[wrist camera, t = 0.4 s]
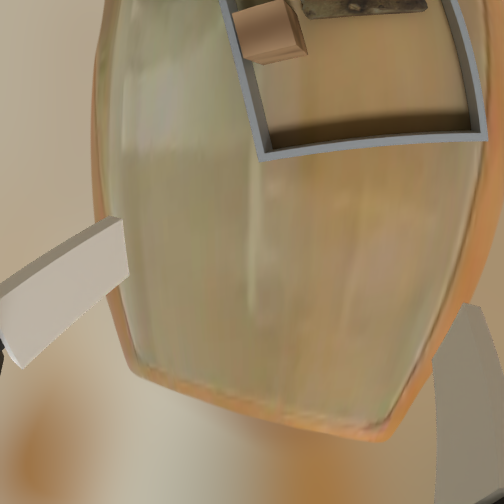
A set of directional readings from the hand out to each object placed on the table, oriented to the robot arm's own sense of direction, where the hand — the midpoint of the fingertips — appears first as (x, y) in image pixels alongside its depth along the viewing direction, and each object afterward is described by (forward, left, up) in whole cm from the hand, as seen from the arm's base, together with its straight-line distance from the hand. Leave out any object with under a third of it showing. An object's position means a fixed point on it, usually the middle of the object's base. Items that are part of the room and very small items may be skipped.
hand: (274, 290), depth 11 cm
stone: (-13, +9, -25) cm, 30 cm away
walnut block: (-15, -3, -25) cm, 29 cm away
